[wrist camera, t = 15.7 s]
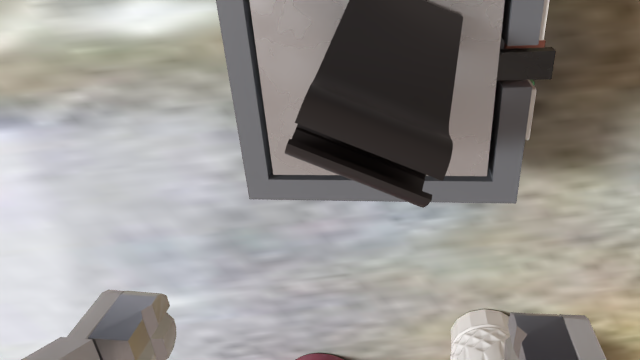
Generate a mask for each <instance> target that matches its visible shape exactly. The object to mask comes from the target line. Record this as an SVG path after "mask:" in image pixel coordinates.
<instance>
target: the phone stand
mask: <svg viewBox="0 0 640 360" xmlns="http://www.w3.org/2000/svg"><path fill="white" fill-rule="evenodd" d="M462 23H463V16H461V15H459V14H456V13H454V12H451V11H449V10H446V9H444V8H441V7H439V6H437V5H434V4H432V3H429V2H427V1H424V0H349V2H348V4H347V7H346V9H345V11H344V13H343V16H342V18H341V20H340V22H339V25H338V27H337V29H336V31H335V34H334V36H333V38H332V40H331V43H330V45H329V47H328V49H327V52H326V54H325V56H324V58H323V61H322V63H321V65H320V67H319V70H318V72H317V74H316V76H315V78H314V80H313V82H312V83H311V85H310V87H309V89H308V91H307V93H306V96H305V98H304V100H303V103H302V105H301V108H300V110H299V113H298V115H297V118H296V121H295V123H297V124H298V125H297V127H296V129H295V132H294V134H293V137H292V139H289V141H288V143H287V146H286V149H285V154H287V155H289V156H292V157H295V158H297V159H300V160H302V161H305V162H307V163H310V164H312V165H315V166H318V167H320V168H323V169H325V170H328V171H330V172H333V173H335V174H338V175H341V176H343V177H346V178H348V179H351V180H353V181H356V182H358V183H361V184H364V185H366V186H369V187H371V188H374V189H376V190H379V191H381V192H384V193H386V194H389V195H392V196H394V197H397V198H399V199H402V200H404V201H407V202H409V203H412V204H415V205H417V206H420V207H425V206H427V205H428V204H429V203H430V202H431V200H432V194H429V193H426V192H424V191H422V190H423V185H424V181H425V176H426V175H428V176H431V177H433V178H436V179H438V180H441V181H443V179H444V177H445V175H446V172H447V169H448V167H449V163H450V160H451V156H452V150H453V142H452V139H451V138H450V135H449V120H450V113H451V105H452V98H453V90H454V83H455V75H456V68H457V60H458V53H459V46H460V38H461V31H462Z"/></svg>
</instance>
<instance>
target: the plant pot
mask: <svg viewBox="0 0 640 360" xmlns="http://www.w3.org/2000/svg"><path fill="white" fill-rule="evenodd" d="M296 360H344V359H342V358H339V357H337V356H334V355H329V354H322V353H314V354H308V355H304V356H302V357H299V358H298V359H296Z"/></svg>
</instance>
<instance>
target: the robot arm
mask: <svg viewBox="0 0 640 360" xmlns="http://www.w3.org/2000/svg"><path fill="white" fill-rule="evenodd" d="M169 306H170V304H169V302H168V299H167V296H166V295H164V294H160V293H147V292H135V291H117V290H107V291H105V292H103V293H102V294H101V295H100V296H99V297H98V299H97V300H96V301H95V302H94V304H93V305H92V306H91V307H90V309H89V310H88V311H87V312H86V314H85V315H84V316H83V317H82V319H81V320H80V321H79V322H78V324H77V325H76V326H75V327H74V329H73V330H72V331H71V332H70V334H69V335H68V336H67V337H60V338H58V339H57V340H55V341H53V342H51V343H50V344H48V345H46V346H44V347H43V348H41V349H39V350H37V351H36V352H34V353H32V354H30V355H29V356H27V357H25V358H23V359H22V360H166V359H167V358H169V356H170V354H171V352H172V350H173V348H174V344H175V339H176V325H175V321H174V319H173V318H172V317H171V316H170V315H169V314H168V313H167V312H166V311H167V310H168V308H169ZM508 329H509V333H510V337H509V338H508V339H506V340H505V348H504V360H607V359H606V357H605V355H604V352H603V350H602V348H601V346H600V344H599V341H598V339H597V337H596V335H595V332H594V330H593V328H592V326H591V323H590V321H589V319H588V318H587V317H586V316H585V315H561V314H560V315H557V314H535V313H513V312H511V314H510V316H509V321H508Z"/></svg>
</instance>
